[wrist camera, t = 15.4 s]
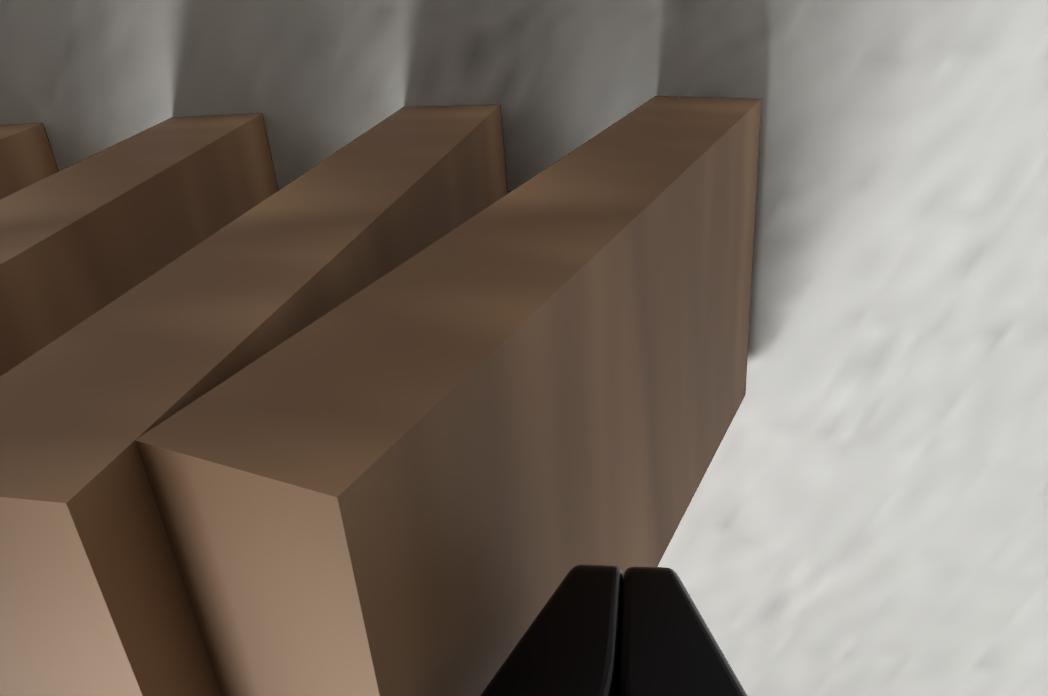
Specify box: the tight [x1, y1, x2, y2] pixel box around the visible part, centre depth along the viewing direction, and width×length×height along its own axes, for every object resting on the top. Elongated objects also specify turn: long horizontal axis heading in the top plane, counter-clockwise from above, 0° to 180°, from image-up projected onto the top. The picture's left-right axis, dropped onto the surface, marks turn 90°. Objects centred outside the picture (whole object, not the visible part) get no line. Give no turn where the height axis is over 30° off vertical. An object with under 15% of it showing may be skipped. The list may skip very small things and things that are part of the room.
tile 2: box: [0, 105, 508, 696], centre depth 11 cm, size 2×5×10 cm, turn 4°
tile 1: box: [135, 96, 761, 696], centre depth 10 cm, size 2×5×10 cm, turn 4°
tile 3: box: [0, 114, 278, 376], centre depth 11 cm, size 2×5×10 cm, turn 4°
